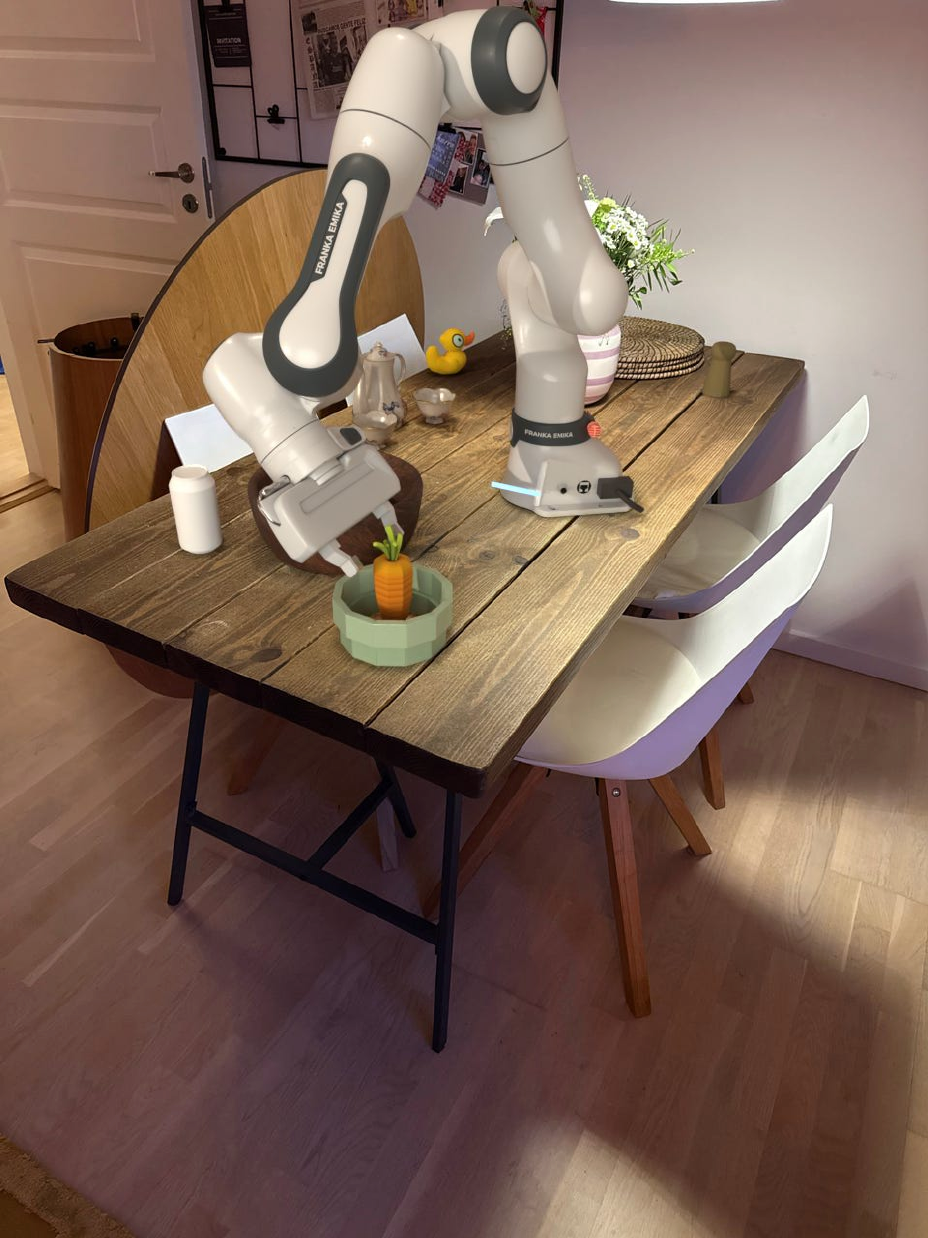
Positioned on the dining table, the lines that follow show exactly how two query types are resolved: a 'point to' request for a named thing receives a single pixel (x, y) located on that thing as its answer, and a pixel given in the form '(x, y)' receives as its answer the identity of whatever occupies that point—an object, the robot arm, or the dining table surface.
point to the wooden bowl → (357, 536)
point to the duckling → (449, 352)
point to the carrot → (393, 578)
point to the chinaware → (391, 398)
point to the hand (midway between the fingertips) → (378, 555)
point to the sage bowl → (393, 637)
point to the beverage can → (195, 509)
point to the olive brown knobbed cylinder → (719, 370)
